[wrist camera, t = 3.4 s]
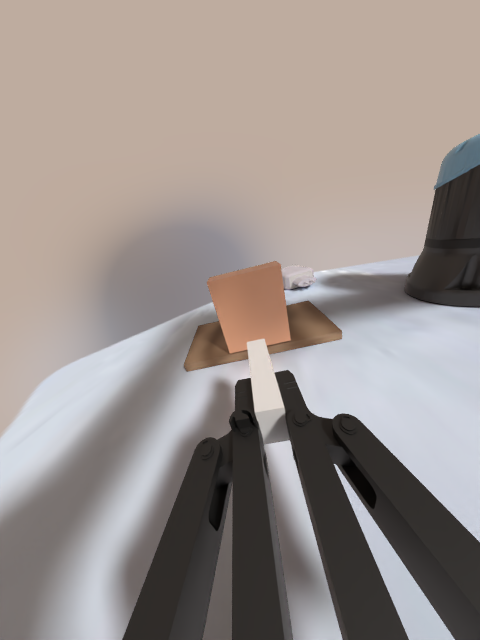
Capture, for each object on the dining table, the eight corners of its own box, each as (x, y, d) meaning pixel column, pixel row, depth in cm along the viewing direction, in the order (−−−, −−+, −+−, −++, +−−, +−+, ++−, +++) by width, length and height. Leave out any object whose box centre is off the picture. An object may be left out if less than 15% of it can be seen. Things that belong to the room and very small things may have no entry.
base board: (309, 306, 41) (308, 300, 41) (341, 338, 29) (341, 331, 28) (200, 331, 43) (198, 325, 43) (186, 371, 31) (183, 364, 30)
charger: (296, 296, 49) (274, 285, 62) (327, 286, 50) (299, 277, 63) (295, 279, 47) (272, 271, 60) (326, 269, 48) (297, 263, 61)
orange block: (278, 316, 37) (268, 256, 32) (290, 340, 29) (280, 264, 24) (230, 327, 38) (213, 269, 32) (229, 353, 29) (206, 282, 24)
